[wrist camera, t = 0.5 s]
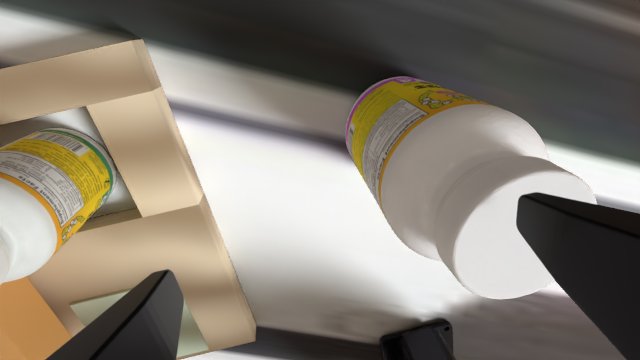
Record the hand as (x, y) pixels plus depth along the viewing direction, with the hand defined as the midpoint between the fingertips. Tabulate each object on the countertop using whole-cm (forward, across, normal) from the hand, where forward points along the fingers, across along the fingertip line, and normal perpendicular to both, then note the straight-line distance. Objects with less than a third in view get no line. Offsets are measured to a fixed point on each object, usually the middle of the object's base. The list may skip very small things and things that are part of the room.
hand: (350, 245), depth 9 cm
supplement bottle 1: (+14, +15, 0) cm, 20 cm away
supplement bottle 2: (+14, -5, +2) cm, 15 cm away
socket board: (+14, +15, +5) cm, 21 cm away
